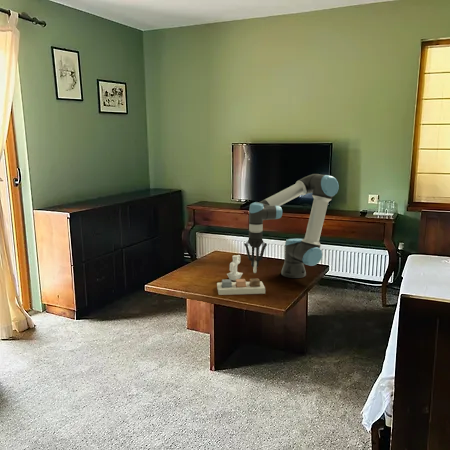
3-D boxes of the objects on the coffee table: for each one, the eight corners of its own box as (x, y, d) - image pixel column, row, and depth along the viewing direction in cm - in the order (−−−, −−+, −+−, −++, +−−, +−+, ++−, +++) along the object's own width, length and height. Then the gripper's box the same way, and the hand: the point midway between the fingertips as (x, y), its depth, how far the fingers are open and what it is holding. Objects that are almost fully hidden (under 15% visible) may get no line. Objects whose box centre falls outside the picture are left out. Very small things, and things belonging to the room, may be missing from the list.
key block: (261, 286, 259) (261, 281, 258) (265, 293, 247) (265, 288, 246) (217, 287, 256) (217, 282, 256) (218, 294, 245) (218, 289, 244)
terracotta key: (244, 285, 254) (244, 278, 253) (245, 288, 249) (245, 281, 248) (235, 285, 253) (235, 279, 253) (236, 288, 249) (236, 281, 248)
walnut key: (258, 285, 255) (258, 278, 254) (259, 288, 250) (259, 281, 249) (249, 285, 254) (249, 278, 253) (251, 288, 249) (251, 281, 249)
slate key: (230, 286, 253) (230, 279, 252) (231, 289, 248) (231, 282, 248) (221, 286, 253) (221, 279, 252) (222, 289, 248) (222, 282, 247)
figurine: (225, 280, 269) (225, 256, 266) (234, 276, 277) (234, 253, 274) (235, 282, 265) (235, 258, 262) (244, 278, 273) (244, 254, 270)
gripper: (266, 229, 250) (264, 269, 255) (243, 229, 249) (242, 270, 253) (268, 232, 243) (267, 273, 247) (245, 232, 241) (244, 274, 246)
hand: (254, 272), depth 250 cm, fingers closed
